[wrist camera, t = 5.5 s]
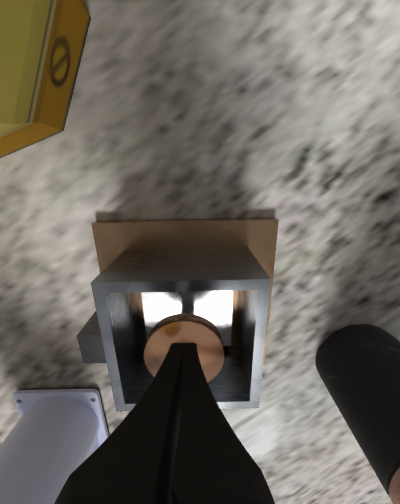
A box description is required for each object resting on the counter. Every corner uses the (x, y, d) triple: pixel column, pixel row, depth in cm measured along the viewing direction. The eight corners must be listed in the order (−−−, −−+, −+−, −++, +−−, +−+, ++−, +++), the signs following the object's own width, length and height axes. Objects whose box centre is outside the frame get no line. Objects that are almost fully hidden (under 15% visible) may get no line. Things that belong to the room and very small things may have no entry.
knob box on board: (261, 358, 20) (286, 429, 14) (120, 361, 20) (90, 433, 14) (274, 217, 16) (316, 239, 10) (96, 221, 16) (40, 245, 10)
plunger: (230, 340, 18) (241, 400, 13) (149, 342, 18) (131, 402, 13) (232, 265, 16) (247, 304, 11) (140, 267, 16) (115, 307, 11)
